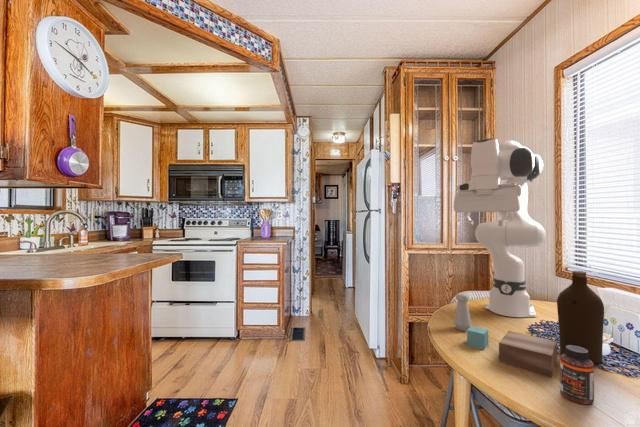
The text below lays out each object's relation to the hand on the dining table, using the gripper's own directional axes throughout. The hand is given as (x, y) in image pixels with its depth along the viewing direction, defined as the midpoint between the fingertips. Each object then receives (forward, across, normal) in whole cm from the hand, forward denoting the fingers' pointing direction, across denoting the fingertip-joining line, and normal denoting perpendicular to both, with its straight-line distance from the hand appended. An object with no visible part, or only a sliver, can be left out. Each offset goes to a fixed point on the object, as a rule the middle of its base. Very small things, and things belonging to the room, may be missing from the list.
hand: (485, 225), depth 104 cm
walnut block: (+39, -13, +11) cm, 42 cm away
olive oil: (+38, -24, -3) cm, 46 cm away
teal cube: (+39, +1, +8) cm, 39 cm away
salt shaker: (+38, +9, -3) cm, 40 cm away
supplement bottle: (+39, -24, +24) cm, 52 cm away
